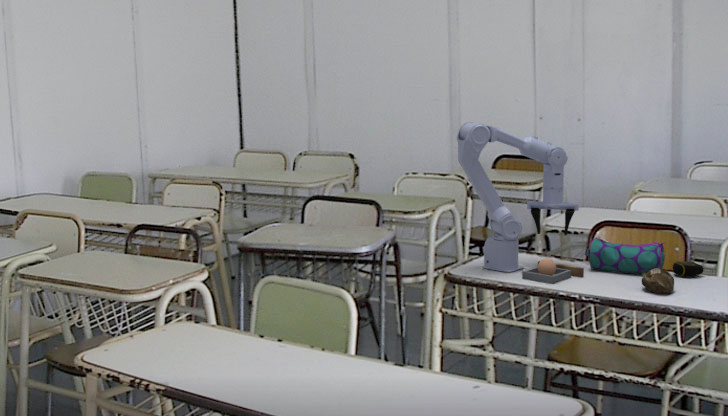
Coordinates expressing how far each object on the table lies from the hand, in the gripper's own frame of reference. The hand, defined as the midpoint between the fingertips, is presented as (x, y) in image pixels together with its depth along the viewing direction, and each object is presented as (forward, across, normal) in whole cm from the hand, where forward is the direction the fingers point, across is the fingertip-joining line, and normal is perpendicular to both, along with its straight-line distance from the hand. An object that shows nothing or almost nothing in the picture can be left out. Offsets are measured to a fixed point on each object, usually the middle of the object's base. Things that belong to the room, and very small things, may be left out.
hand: (552, 233), depth 244 cm
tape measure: (+10, +37, -3) cm, 38 cm away
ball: (+6, 0, -16) cm, 17 cm away
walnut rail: (+9, +3, -9) cm, 14 cm away
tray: (+9, 0, -16) cm, 18 cm away
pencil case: (+10, +21, -3) cm, 23 cm away
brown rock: (+10, +29, -22) cm, 38 cm away
